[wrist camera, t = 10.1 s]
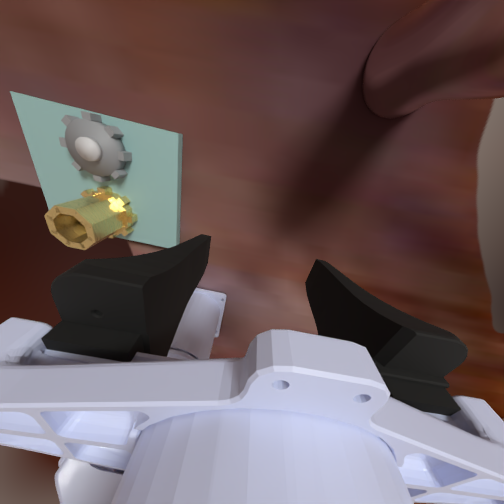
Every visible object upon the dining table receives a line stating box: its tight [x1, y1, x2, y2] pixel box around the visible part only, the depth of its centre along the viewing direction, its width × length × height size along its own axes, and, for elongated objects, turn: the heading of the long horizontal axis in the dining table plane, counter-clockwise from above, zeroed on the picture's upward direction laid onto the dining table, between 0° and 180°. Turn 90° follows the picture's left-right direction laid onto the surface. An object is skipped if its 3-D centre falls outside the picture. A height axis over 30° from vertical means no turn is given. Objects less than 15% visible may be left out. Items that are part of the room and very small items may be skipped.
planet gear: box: [44, 186, 138, 250], centre depth 18 cm, size 5×5×5 cm
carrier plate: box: [10, 91, 183, 248], centre depth 18 cm, size 12×14×4 cm
